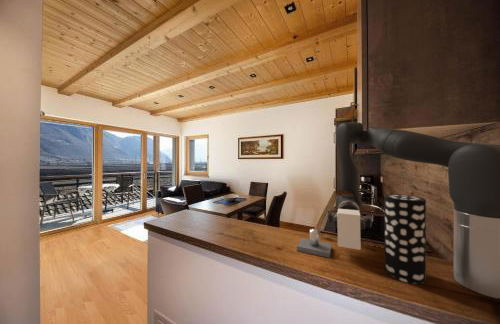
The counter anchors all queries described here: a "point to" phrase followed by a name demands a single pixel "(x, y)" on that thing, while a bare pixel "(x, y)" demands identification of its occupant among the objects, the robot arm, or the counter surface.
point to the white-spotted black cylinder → (405, 238)
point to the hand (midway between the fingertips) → (348, 225)
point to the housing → (348, 228)
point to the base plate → (314, 250)
